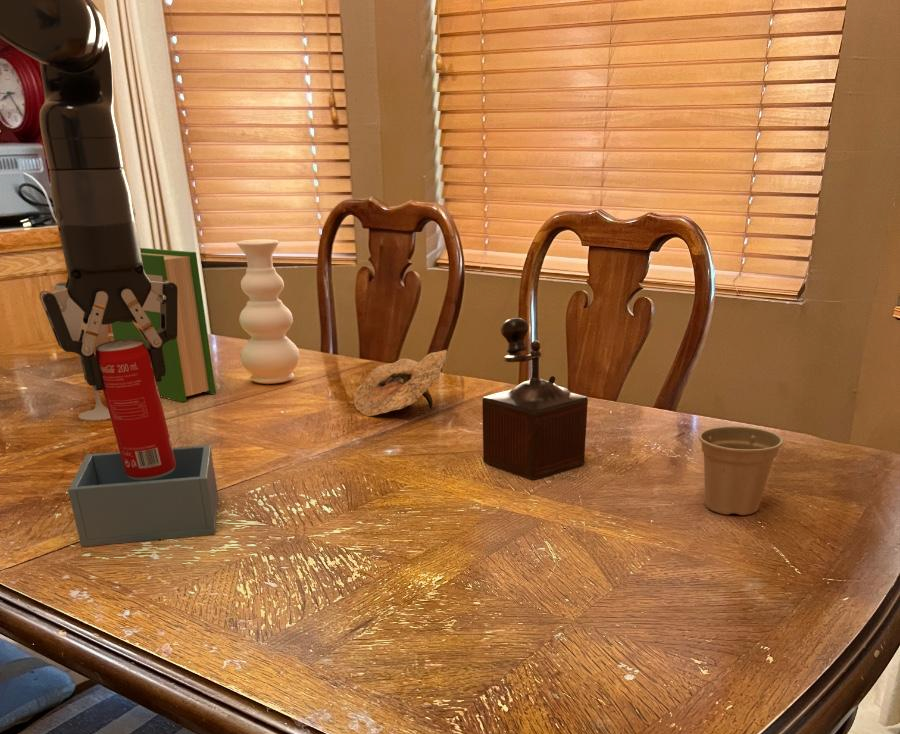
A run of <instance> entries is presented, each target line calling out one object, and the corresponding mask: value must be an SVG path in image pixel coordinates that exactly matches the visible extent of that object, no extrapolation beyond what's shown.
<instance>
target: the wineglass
mask: <svg viewBox="0 0 900 734" xmlns="http://www.w3.org/2000/svg"><path fill="white" fill-rule="evenodd" d="M66 283H67V281H61V282H57V283H54V284H53V291H55V290H59V289H62V288H65V287H66ZM66 306H67V308H66V310H65V311H64V312H62V315H63V318H64V320H65V323H66V325H67V328H68V330H69V333H70V336H71V338H72V339H75V340H78V338H79V334H80V325H81V321H82V316H83V312H84V311H83V310H82V309H81V308H80V307H79V306H78V305H77V304H76V303H75V302H74V301H73V300H72V299H71V298H69V299H67V301H66ZM88 319H89V318H88ZM109 330H110V329H109V324H105V325H102V324H101V327H100V331H99V335H98V336H97V339H96V343H95V347H96V346H98V345H100V344H102V343H106V342H108V339H109V333H110V332H109ZM95 347H94V351H93V352H94V354H95V355H96V349H95ZM75 354H76V355H78V356H79V357H80V355H79V354H78V353H75ZM92 388H93V387H92ZM93 393H94V398H95V405H94V408H93V409H90V410H86V411H83V412H80V413H79V414H78V415H77V416H78V420H81V421H84V422H102V421H101V420H103V421H108V420H107V419H110V420H111V418H110V414H109V410H108V407H107V406H105V405H104V403H102V399H101V396H100V390H99V391H96V390H95V389H94V388H93Z"/></svg>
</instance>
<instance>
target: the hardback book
mask: <svg viewBox="0 0 900 734" xmlns="http://www.w3.org/2000/svg"><path fill="white" fill-rule="evenodd" d="M140 250H141V256H142V262H143V268H144V272H145V274H146V276H147V277H148V279H149V280H150V281H156V282H162V281H164V280H166V281H169V282H172V283H174V284H176V286H177V289H178V300H177V337H176V339H174V340H169V341H167V342H166V343H164V344H163V347H162V351H163V357H164V363H165V369H166V373H165V376H161V378H162V381H161V382H157V386H158V390H159V395H160V396H162V397H165V398H170V399H174V400H177V401H176V402H178V401H181V402H180V403H184V402H183V401H186V402H187V397H190V396H194V395H198V394H201V393H202V392H206V393H210V394H209V395H211V394H213V393H216V394H217V392H216V385H215V378H214V370H213V364H212V356H211V349H210V341H209V334H208V327H207V322H206V321H207V320H206V315H205V314H206V313H205V308H204V307H205V306H204V300H203V291H202V285H201V279H200V272H199V265H198V258H197V252H196V251H186V250H174V249H161V248H148V247H140ZM142 309H143V310H144V312H145V313H146V315H147V317H148V318H149V320H150V321H151V323H152V325H153V327H154V329H155V330H156V331H157V330H159V329H160V302H159V301H157V300H156V299H155V295H154V293H153V291H150V293H149V295H148V297H147V299H146V301H145V303H144V305H143V307H142ZM110 325H111V330H112V335H113V341H115V340H122V339H140V340H143V343H144V345H145V346H147V342H146V341H145V339H144V338H143V336H142V334H141V333H140V331H139V330H138V328H137V327H136V326H135V325H134V323H133V322H120V321H117V322H114V323H111V324H110ZM206 393H205V394H206ZM202 394H203V393H202ZM213 395H214V394H213ZM165 398H164V399H165ZM170 399H169V400H170ZM174 400H173V401H174Z"/></svg>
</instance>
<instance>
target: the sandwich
mask: <svg viewBox="0 0 900 734" xmlns="http://www.w3.org/2000/svg"><path fill="white" fill-rule="evenodd" d="M447 350H448V349H442V350H439V351H434V352H430V353H428V354H427V355H426V356H425V357H423V358H422V359H421V360H420V361H416V360H413V359H409V358H406V357H405V358H400V359H398V360H396V361H394V362H391V363H385V364H381V365H379V366H376V367H374V369H373V370H372V371H371V372H370V373H368V375H367V376H366V378H365V379H364V381H363V382H362V384H360V385H359V386H358V387H357V389H356V390H355V392H354V394H353V396H352V398H353V400H354V401H353V402H354V403H353V405H354V407H355V409H356V410H357V411H358V412H360V414H362V415H364V416H367V417H368V416H370V417H372V416H377V415H380V414H386V413H389V412H393V411H397V410H402V409H405V408H407V407H408V406H410V405H412V404H414V403H415V402H416V401H417V400H419V398H420V397H421V396H422V397H423V398H424V399H425V400H426V402H427V405H428V408H429V410H431V409H433V405H434V401H433V397H432V395H431V393H430V391H429V389H430V388H432V387H433V385H434V384H435V383H436V382H437V381H438V379H440V375H441V371H442V370H443V367H444V364H445V361H447V358H446V356H447V354H448V351H447Z"/></svg>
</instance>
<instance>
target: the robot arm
mask: <svg viewBox="0 0 900 734" xmlns="http://www.w3.org/2000/svg"><path fill="white" fill-rule="evenodd" d="M0 39H2V40H3V41H5V43H8V44H9V45H11V46H13V47H14V48H15V49H17V50H18V51H20V52H22V53H23V54H25V55H27V56H28V57H30V58H31V59H33V60H35V61H37V62H39V67H40V74H41V79H42V80H41V81H42V88H43V94H44V103H43V104H42V105H41V108H40V110H39V127H40V134H41V139H42V143H43V144H42V145H43V148H44V152H45V158H46V161H47V167H48V170H49V171H48V172H49V180H50V181H49V182H50V192H51V193H50V194H51V200H52V204H53V210H54V215H55V219H56V224H57V228H58V234H59V239H60V243H61V247H62V253H63V257H64V263H65V269H66V272H67V281H66V282H67V283H66V287H65V288H62V289H59V290H55V291H54V290H51V291H48V290H42V291H40V293H39V300H40V303H41V305H42V307H43V310H44V312H45V315H46V317H47V320H48V322H49V325H50V327H51V330H52V332H53V335H54V337H55V340H56V342H57V345H58V346H59V347H60V348H61V349H62V350H63V351H64V352H66V353H73V354H76V353H78V354H79V355H80V356H79V355H78V354H77V355H78V356H79V358H80V363H81V367H82V372H83V377H84V380H85V382H86V383H87V384H88V386H89V387H92V388H94V389H95V390H96V391H99V392H100V391H103V384H102V379H101V374H100V369H99V365H98V360H97V356H96V355H95V354H94V352H93V351H94V347H95V343H96V339H97V336H98V335H99V331H100V327H101V324H102V325H105V324H108V325H111V323H114V322H117V321H120V322H133V323H134V325H135V326H136V327H137V328H138V330H139V331H140V333H141V334H142V336H143V338H144V339H145V341H146V342H147V346H145V347H146V348H147V350H148V351H149V353H150V357H151V361H152V366H153V371H154V375H155V380H156V382H161V381H162V378H161V376H165V373H166V369H165V363H164V357H163V351H162V347H163V344H164V343H166V342H167V341H169V340H174V339H176V337H177V300H178V289H177V286H176V284H174V283H172V282H169V281H166V280H164V281H162V282H156V281H150V280H149V279H148V277H147V276H146V274H145V272H144V268H143V262H142V256H141V250H140V248H141V244H140V238H139V234H138V228H137V221H136V208H135V206H134V203H133V199H132V193H131V189H130V185H129V183H128V179H127V175H126V171H125V169H124V168H125V166H124V160H123V154H122V149H121V143H120V142H121V141H120V137H119V132H118V128H117V124H116V119H115V111H114V81H113V80H114V79H113V63H112V54H111V44H110V39H109V34H108V31H107V27H106V23H105V21H104V18H103V16H102V14H101V12H100V10H99V8H98V7H97V5H96V4H95V3H94V1H93V0H0ZM150 291H153V293H154V295H155V299H156V300H157V301H159V302H160V329H159V330H157V331H156V330H155V329H154V327H153V325H152V323H151V321H150V320H149V318H148V317H147V315H146V313H145V312H144V310H143V309H142V307H143V305H144V303H145V301H146V299H147V297H148V295H149V293H150ZM69 298H71V299H72V300H73V301H74V302H75V303H76V304H77V305H78V306H79V307H80V308H81V309H82V310H83V311H84V312H83V316H82V321H81V325H80V334H79V338H78V340H75V339H72V338H71V336H70V333H69V330H68V328H67V325H66V323H65V320H64V318H63V315H62V312H64V311H65V310H66V308H67V306H66V301H67V299H69ZM88 318H89V319H88ZM94 389H93V390H94Z"/></svg>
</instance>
